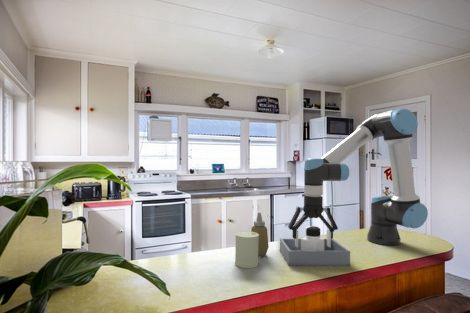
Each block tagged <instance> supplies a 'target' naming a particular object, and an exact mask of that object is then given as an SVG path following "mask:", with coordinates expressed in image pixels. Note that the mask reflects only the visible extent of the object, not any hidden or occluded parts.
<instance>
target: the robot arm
mask: <svg viewBox="0 0 470 313" xmlns="http://www.w3.org/2000/svg"><path fill="white" fill-rule="evenodd" d="M418 124H419V123H418V119H417V116H416V115H415V114H414V112H413V111H411V110H410V109H408V108H394V109H391V110H387V111H381V112H377V113H375V114H372V115H371V116H370V117H368V118H367V119H365V120H364V121H363V122H361V123H360V124H359V125H358V126H356V129H355V131H353V132H352V133H350V135H348V136H347V137H346V138H344V139H343V140H342V141H341V142H339V143H338V144H336V146H335V147H333V148H332V149H331V150H329V151H328V152H327V153H325V154H324V155H323V156H322V157H321V158H305V160H304V167H303V170H304V172H303V173H304V174H303V175H304V176H303V177H304V179H303V181H304V183H303V184H304V187H303V193H304V196H303V207H301V206H298V205H297V206H296V208H295V212H294V214H293V216H292V217H291V220H290V222H289V224H288V226H287V227H288V229H289V230H291V231H292V235H291V236H292V239H295V246H296V247H298V239H299V231H298V229H299V228H301V226H302V225H303V223H304V222H305V221H306V220H308V218H309V219H318V218H319V219H320V220H321V222H322V223H323V225H324V226H325V227H326V228H327V229H326V239H327V246H328V247H331V239H334V232H335V231H337V230H339V229H338V225H337V223H336V221H335V219H334V217H333V214H332V212H331V211H332V210H331V208H330V207H329V206H325V207H323V205H324V203H323V196H322V195H323V194H324V191H323V189H324V188H323V187H324V182H343V181H347V180H348V179H349V176H350V168H349V166H348V165H347V164H346V163H343V161H345V160H346V159H347V158H349V157H350V156H351V155H353V153H355V152H356V151H357V150H358V149H359V148H361V147H362V146H364V145H365V144H366V143H370V142H372V141H373V140H374V139H377V138H380V137H381V138H383V141H384V142H385V143H387V145H388V148H387V149H388V154H389V155H388V156H389V163H390V171H391V173H390V174H391V181H392V189H393V194H392V195H373V197H371V201H370V202H371V203H370V209H371V210H370V216H371V217H370V226H369V229H368V232H367V234H366V235H367V236H366V240H367V241H368V242H370V243H374V244H377V243H378V244H377V245H382V244H384V246H398V245H401V236H400V233H399V229H398V228H397V227H398V226H402V227H405V228H409V229H418V228H421V227H422V226H423V225H425V222H426V221H427V220H428V216H429V215H428V214H429V213H428V212H429V210H428V208H427V206H426V205H425V204H424V203H421V198H420V196H419V195H418V194H416V188H415V181H414V171H413V164H412V163H413V162H412V154H411V146H410V141H411V140H412V139H413V133H415V132H416V131H417V128H418ZM302 211H303V214H302V216H301V217H300V218H299V216H300V214H301V213H302ZM323 212H324V213H325V214H326V215H327V218H328V220H329V222H330V223H329V222H328V220H327V219H326V218H325V217H324V215H323V214H322V213H323ZM298 218H299V219H298ZM297 220H298V221H297ZM397 225H398V226H397Z"/></svg>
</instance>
